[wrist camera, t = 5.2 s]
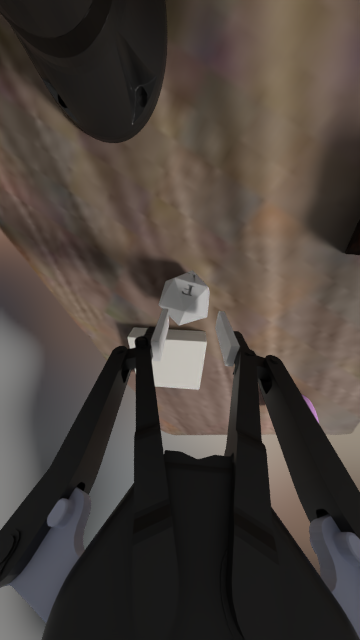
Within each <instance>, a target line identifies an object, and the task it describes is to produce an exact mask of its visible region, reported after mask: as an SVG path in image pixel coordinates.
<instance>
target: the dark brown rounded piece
mask: <svg viewBox="0 0 360 640" xmlns="http://www.w3.org/2000/svg"><path fill="white" fill-rule="evenodd" d="M345 254H354V255H360V220H359V222H358V224H357V227H356V229H355V231H354V234H353V236H352V238H351V241H350V243H349V245H348V247H347V250H346V252H345Z"/></svg>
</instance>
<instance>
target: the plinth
mask: <svg viewBox="0 0 360 640" xmlns="http://www.w3.org/2000/svg"><path fill="white" fill-rule="evenodd" d="M147 329H148V328H137V327H134V328H133V329H132V331H131V332H130V334H129V335H128V337H127V338H128V342H129V346H130V349H131V348H135V342H134V341H135V339H136V338H137V337H139V336H144V334H145V333H146V330H147ZM206 345H207V339H206V333H205V331H190V330H172V329H168V332H167V336H166V340H165V344H164V348H163V353H162V357H161V361H153V358H152V368H153V376H154V383H155V386H158V387H171V388H184V389H197V390H199V388H200V381H201V375H202V369H203V363H204V357H205V351H206ZM135 373H136V369H135Z"/></svg>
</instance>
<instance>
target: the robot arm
mask: <svg viewBox="0 0 360 640" xmlns="http://www.w3.org/2000/svg"><path fill="white" fill-rule="evenodd" d="M0 13H1V14H2V15H3V16H4V17H5V19H6V20H7V21H8V22H9V23H10V25H11V27H12V28H13V30H14V32H15V33H16V35H17V37H18V39H19V40H20V42H21V44H22V45H23V47H24V49H25V50H26V52H27V54H28V56H29V57H30V59H31V61H32V62H33V64H34V66H35V68H36V69H37V71H38V73H39V74H40V76H41V78H42V79H43V81H44V83H45V85H46V86H47V88H48V90H49V91H50V93H51V94H52V96H53V97H54V99H55V100H56V102H57V103H58V104H59V106H60V107H61V108H62V110H63V111H64V112H65V113H66V114H67V116H68V117H69V118H70V119H71V120H72V121H73V122H74V123H75V124H76V125H77V126H78V127H79V128H81V129H82V130H83V131H84V132H86V133H87V134H88V135H90V136H92V137H93V138H95V139H97V140H100V141H103V142H108V143H119V142H123V141H126V140H128V139H130V138H132V137H134V136H135V135H136V134H137V133H138V132H140V130H141V129H142V128H143V127H144V126H145V124H146V123H147V122H148V120H149V118H150V117H151V115H152V113H153V111H154V109H155V106H156V104H157V101H158V98H159V95H160V91H161V88H162V83H163V79H164V73H165V66H166V56H167V15H166V4H165V0H0ZM168 328H169V309H164V308H163V310H162V312H161V315H160V318H159V320H158V323H157V325H156V327H149V328H148V329H147V330H146V333H145V334H144V336H139V337H137V338H136V339H135V341H134V342H135V348H131V349H127V348H126V347H125V346H119V347H116V348H115V349H114V350H113V351H112V353H111V355H110V357H109V359H108V360H107V362H106V364H105V366H104V368H103V370H102V372H101V373H100V375H99V377H98V379H97V381H96V383H95V385H94V387H93V388H92V390H91V392H90V394H89V396H88V398H87V399H86V401H85V403H84V405H83V407H82V409H81V411H80V412H79V414H78V416H77V418H76V420H75V422H74V424H73V425H72V427H71V429H70V431H69V433H68V435H67V437H66V439H65V440H64V442H63V444H62V446H61V448H60V450H59V452H58V453H57V455H56V457H55V459H54V461H53V463H52V465H51V466H50V468H49V469H48V471H47V472H46V473H45V474H44V476H43V477H42V478H41V480H40V481H39V482H38V483H37V485H36V486H35V487H34V488H33V490H32V491H31V492H30V493H29V495H28V496H27V497H26V498H25V500H24V501H23V502H22V504H21V505H20V506H19V507H18V509H17V510H16V511H15V513H14V514H13V515H12V516H11V517H10V519H9V520H8V521H7V523H6V524H5V525H4V526H3V528H2V529H1V530H0V587H3V586H7V585H10V586H12V587H13V588H14V589H15V590H16V591H17V592H18V593H19V594H20V595H21V596H22V597H23V599H24V600H25V601H26V602H27V603H28V604H29V605H30V606H31V607H32V608H33V609H34V610H35V611H36V613H37V614H38V615H39V616H40V617H41V618H42V619H43V620H44V621H45V622H46V627H45V630H44V633H43V637H42V640H360V492H359V490H358V488H357V487H356V485H355V483H354V482H353V480H352V479H351V477H350V475H349V473H348V472H347V470H346V468H345V467H344V465H343V463H342V462H341V460H340V458H339V457H338V455H337V453H336V452H335V450H334V448H333V447H332V445H331V443H330V442H329V440H328V438H327V436H326V435H325V433H324V431H323V430H322V428H321V426H320V425H319V423H318V421H317V420H316V418H315V416H314V415H313V413H312V411H311V410H310V408H309V406H308V405H307V403H306V401H305V400H304V398H303V396H302V395H301V393H300V391H299V389H298V388H297V386H296V384H295V383H294V381H293V379H292V378H291V376H290V374H289V373H288V371H287V369H286V368H285V366H284V364H283V363H282V361H281V360H280V359H279V358H277V357H275V356H272V355H268V356H266V358H263V357H260V356H257V355H256V354H255V353H254V351H252V350H250V349H249V348H248V346H247V344H246V342H245V340H244V338H243V336H242V334H241V333H240V332H238V331H233V330H232V327H231V325H230V323H229V321H228V318H227V316H226V314H225V312H223V311H219V312H218V317H217V322H216V327H215V329H216V333H217V336H218V340H219V344H220V348H221V352H222V355H223V359H224V363H225V366H233V365H234V363H235V369H234V372H233V375H234V378H233V388H232V397H231V407H230V416H229V426H228V435H227V444H226V450H225V454H224V456H219V455H213V456H209V457H206V458H202V459H195V458H193V457H191V456H189V455H187V454H185V453H183V452H179V451H168V450H165V454H163V447H162V438H161V430H160V423H159V415H158V407H157V399H156V391H155V383H154V376H153V368H152V358H153V361H161V357H162V353H163V348H164V344H165V340H166V336H167V332H168ZM132 369H136V432H135V437H134V483H133V485H132V486H131V488H130V489H129V490H128V492H127V493H126V494H125V496H124V497H123V499H122V500H121V501H120V503H119V504H118V505H117V507H116V508H115V510H114V511H113V512H112V514H111V515H110V516H109V518H108V519H107V521H106V522H105V523H104V525H103V526H102V527H101V529H100V530H99V532H98V533H97V534H96V536H95V537H94V538H93V540H92V541H91V542H90V544H89V545H88V547H87V548H86V550H84V546H83V534H84V529H85V526H86V523H87V520H88V517H89V514H90V510H91V499H90V496H89V493H90V490H91V488H92V486H93V484H94V481H95V479H96V476H97V474H98V471H99V468H100V465H101V462H102V459H103V456H104V453H105V450H106V446H107V444H108V441H109V437H110V434H111V431H112V428H113V425H114V422H115V419H116V416H117V413H118V410H119V407H120V404H121V400H122V397H123V394H124V391H125V388H126V385H127V382H128V379H129V376H130V373H131V370H132ZM258 384H259V386H260V389H261V392H262V395H263V398H264V401H265V404H266V406H267V409H268V412H269V415H270V418H271V421H272V424H273V426H274V429H275V432H276V435H277V438H278V441H279V444H280V446H281V449H282V452H283V455H284V458H285V461H286V463H287V466H288V469H289V472H290V475H291V478H292V481H293V483H294V486H295V489H296V491H297V494H298V497H299V499H300V502H301V504H302V506H303V508H304V510H305V513H306V515H307V517H308V519H309V521H310V527H309V532H310V542H311V546H312V548H313V550H314V552H315V553H316V554H317V557H318V560H319V564H320V572H321V577H320V575H319V574H318V573H317V572H316V570H315V568H314V567H313V565H312V564H311V563H310V561H309V560H308V558H307V557H306V556H305V554H304V553H303V551H302V550H301V548H300V547H299V546H298V544H297V543H296V541H295V540H294V538H293V537H292V536H291V534H290V533H289V531H288V530H287V528H286V527H285V526H284V524H283V523H282V521H281V520H280V518H279V517H278V516H277V514H276V513H275V512H274V510H273V509H272V507H271V501H270V489H269V477H268V465H267V454H266V448H265V445H264V444H263V443H262V439H261V425H260V409H259V393H258Z"/></svg>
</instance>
